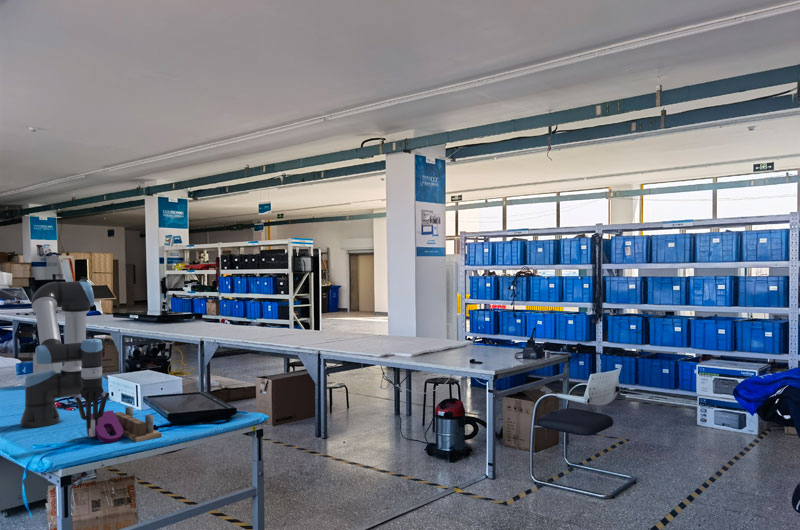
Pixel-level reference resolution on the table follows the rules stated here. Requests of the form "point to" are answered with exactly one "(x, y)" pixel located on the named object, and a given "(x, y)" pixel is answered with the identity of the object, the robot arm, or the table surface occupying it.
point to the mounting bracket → (108, 428)
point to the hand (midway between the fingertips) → (92, 435)
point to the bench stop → (137, 426)
